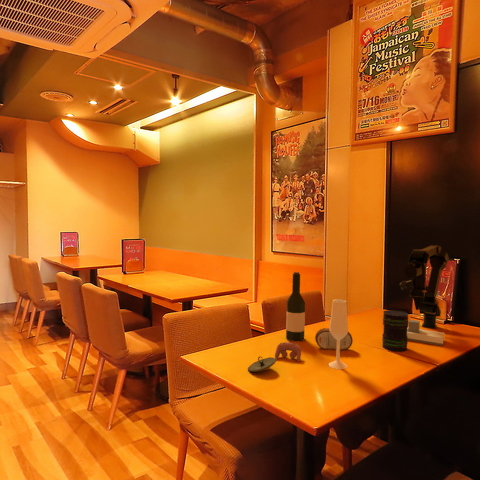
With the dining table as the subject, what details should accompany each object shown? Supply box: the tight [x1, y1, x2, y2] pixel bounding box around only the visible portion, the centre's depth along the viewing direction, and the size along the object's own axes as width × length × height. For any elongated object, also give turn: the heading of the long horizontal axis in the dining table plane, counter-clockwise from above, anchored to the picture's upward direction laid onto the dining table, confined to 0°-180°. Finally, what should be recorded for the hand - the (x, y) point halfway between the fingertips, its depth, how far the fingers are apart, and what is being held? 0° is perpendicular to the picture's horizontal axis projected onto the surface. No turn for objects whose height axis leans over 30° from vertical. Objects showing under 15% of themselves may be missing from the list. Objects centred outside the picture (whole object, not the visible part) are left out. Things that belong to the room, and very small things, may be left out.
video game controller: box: [274, 341, 302, 363], centre depth 146 cm, size 10×5×7 cm, turn 72°
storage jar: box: [381, 309, 409, 353], centre depth 160 cm, size 10×10×15 cm
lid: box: [247, 356, 277, 373], centre depth 134 cm, size 11×10×5 cm
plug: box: [408, 319, 421, 333], centre depth 174 cm, size 4×4×7 cm
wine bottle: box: [285, 271, 306, 342], centre depth 170 cm, size 8×8×30 cm
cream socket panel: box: [407, 327, 445, 347], centre depth 174 cm, size 9×24×4 cm, turn 58°
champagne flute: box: [328, 298, 349, 370], centre depth 139 cm, size 7×7×24 cm
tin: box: [314, 327, 354, 351], centre depth 157 cm, size 15×3×8 cm, turn 84°
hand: (418, 308), depth 184 cm, fingers open, 9 cm apart
